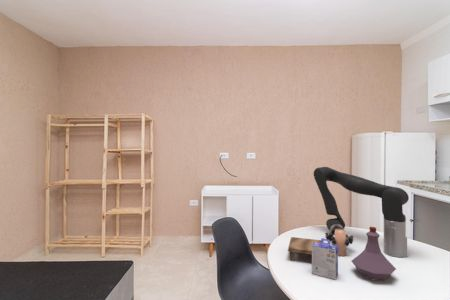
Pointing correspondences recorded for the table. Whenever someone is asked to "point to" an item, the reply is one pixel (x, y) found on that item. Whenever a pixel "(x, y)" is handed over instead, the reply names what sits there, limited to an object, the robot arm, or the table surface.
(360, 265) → the flask
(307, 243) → the walnut stand
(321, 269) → the ink cartridge box
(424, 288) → the table surface
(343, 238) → the peach cylinder
